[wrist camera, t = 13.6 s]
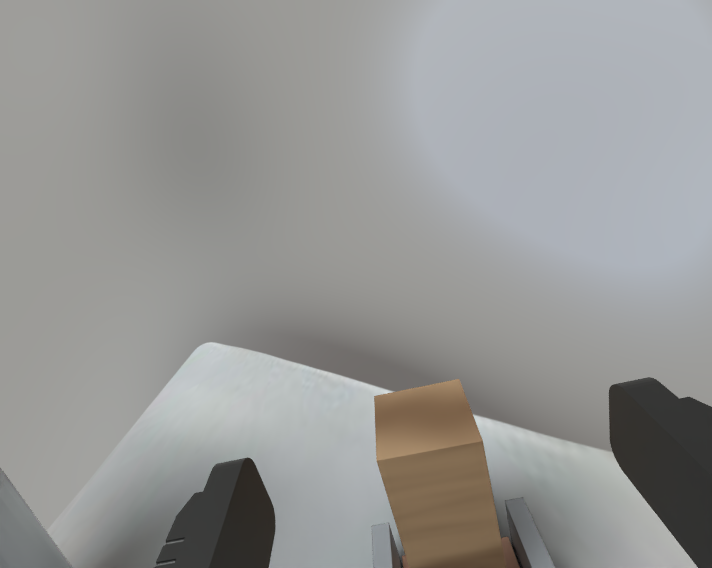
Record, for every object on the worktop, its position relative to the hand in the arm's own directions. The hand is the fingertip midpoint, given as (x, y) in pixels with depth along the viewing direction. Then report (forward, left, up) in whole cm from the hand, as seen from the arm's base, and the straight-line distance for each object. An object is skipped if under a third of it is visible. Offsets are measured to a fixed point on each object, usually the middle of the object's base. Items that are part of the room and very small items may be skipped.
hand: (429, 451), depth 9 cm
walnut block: (-6, +8, -21) cm, 24 cm away
